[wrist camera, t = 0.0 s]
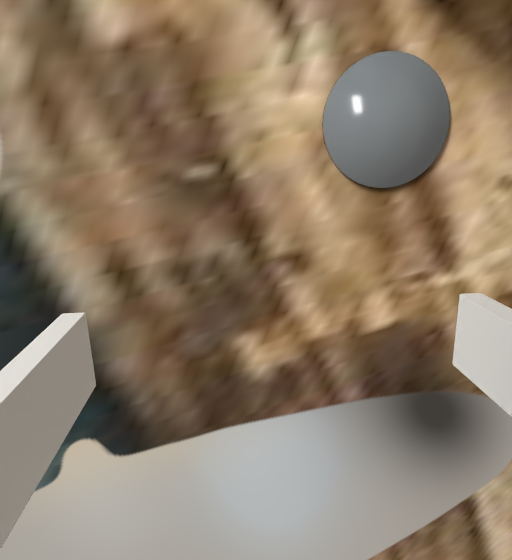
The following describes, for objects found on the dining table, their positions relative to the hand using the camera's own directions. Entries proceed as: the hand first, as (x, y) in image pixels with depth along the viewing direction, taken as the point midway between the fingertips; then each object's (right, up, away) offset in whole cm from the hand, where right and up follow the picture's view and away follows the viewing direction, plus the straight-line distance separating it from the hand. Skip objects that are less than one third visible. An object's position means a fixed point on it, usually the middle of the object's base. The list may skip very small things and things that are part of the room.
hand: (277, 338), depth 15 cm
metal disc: (+11, +17, +25) cm, 33 cm away
